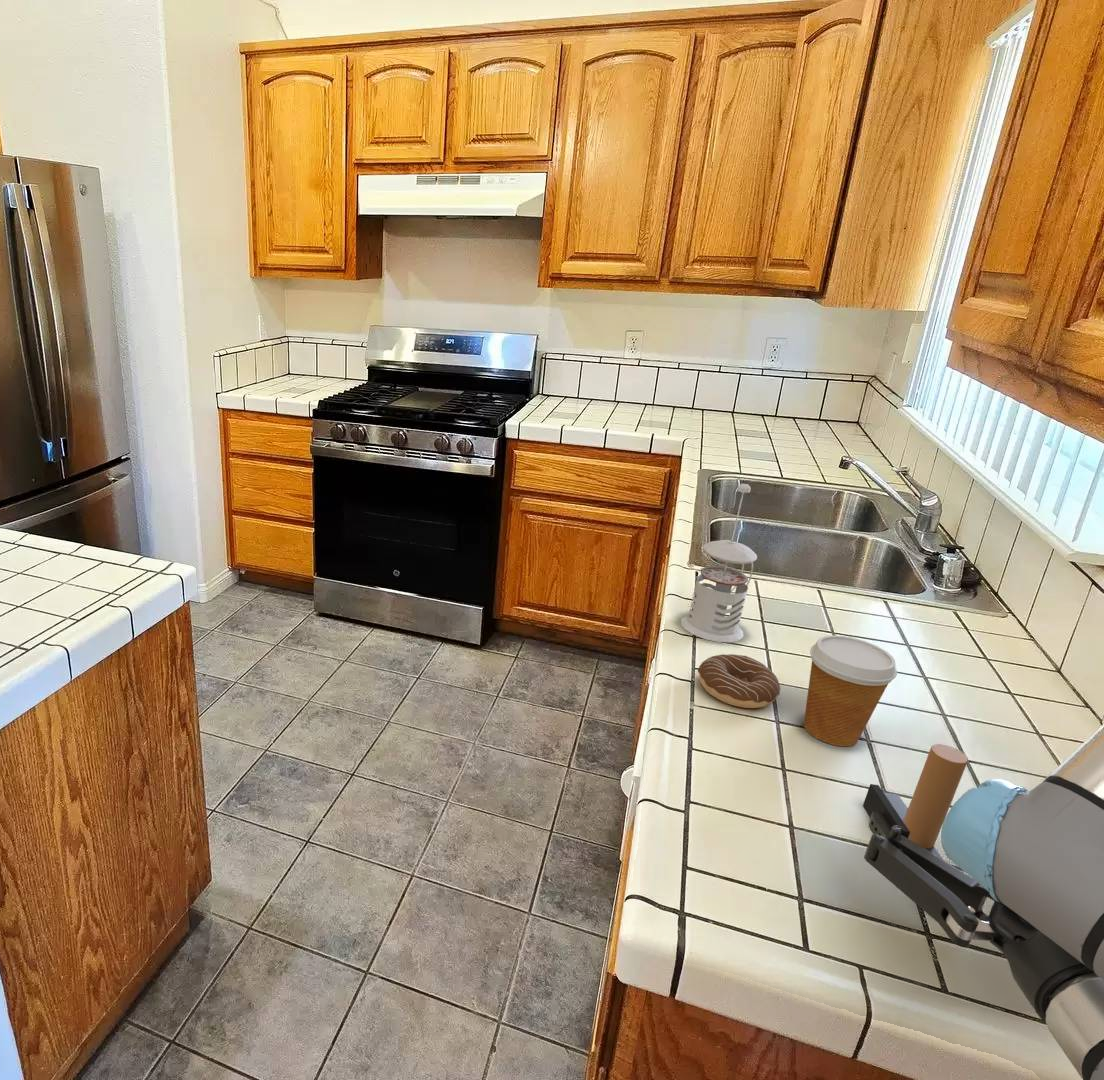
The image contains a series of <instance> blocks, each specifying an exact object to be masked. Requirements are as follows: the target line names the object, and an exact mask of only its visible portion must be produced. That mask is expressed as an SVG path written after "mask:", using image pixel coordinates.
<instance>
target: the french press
mask: <svg viewBox="0 0 1104 1080" xmlns="http://www.w3.org/2000/svg"><path fill="white" fill-rule="evenodd" d="M751 489H752V488H751V486H750V485H749V484H748V483H740V484H739V485H738V486H737V489H736V491H737V492H740V493H741V496H740V500H739V504H738V509H737V513H736V517H735V522H734V527H733V531H732V536H731V539H730V540H729V539H720V540H712V541H709V542H705V544H703V545H702V551H703V552H704V553H705V554H706V555H707V556H708V557H710V558H712V559H715V560H717V561H721V562H723V563H724V562H725V566H720V565H707V566H703V567H702V568H700V574H699V575H698V576H697V577H696V579H695V585H694V589H693V593H692V599H691V603H690V607H689V612H688V615H685V616H684V617H682V618H681V620H680V625H681V626H682V628H683V629H684V630H685V631H687V632H688V633H689V634H691V635H693V636H696V637H698V638H701V639H703V640H706V641H707V640H708V641H711V642H717V643H735V642H739V641H741V640H742V639H743V638H744V631H743V630H742V629H741V627H740V623H741V618H742V615H743V613H742V612H743V611H744V604H745V602H746V597H747V594H748V590H749V584H750V583H751V580H752V576H753V572H754V562H755V561H756V560H758V554H756V553H755V552H754V551H753V549H751V547H749V546H747V545H745V544H743V543H742V542H741V543H740V542H737V541H734V538H735V532H736V529H737V523H738V520H739V515H740V511H741V507H742V503H743V498H744V494H749V493H751ZM728 564H736V565H737V564H738V565H741V570H740V571H739V570H737V569H733V568H729V567H728ZM748 564H751V565H750V566H751V571H750V574H749V578H748V576H747V575H745V574H744V573H743V572H744V569H745V565H748ZM704 580H707V581H709V582H713V583H715V585H714V584H712V583H707V582H702V581H704ZM701 582H702V583H701ZM732 587H733V588H732ZM734 590H735V592H734V593H732V592H733V591H734ZM729 606H731V608H728V607H729ZM726 614H729V615H727V616H726Z"/></svg>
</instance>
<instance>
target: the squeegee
mask: <svg viewBox="0 0 1104 1080" xmlns="http://www.w3.org/2000/svg"><path fill="white" fill-rule="evenodd" d="M968 762H969V758H968V756H967V755H966V754H965V753H964V752H963V751H961V750H959V749H958V748H956V747H953V746H951V745H947V744H942V743H934V744H932V745H931V747H930V749H929V752H928V754H927V757H926V760H925V762H924V765H923V768H922V771H921V773H920V776H919V779H918V781H917V783H916V786H915V789H914V791H913V795H912V797H911V800H910V803H909V805H908V807H907V805H906V804H905V802H904V801H903V799H902V798H901V796H900V795H899V794H898V793H890V792H884V794H885V795H886V797H887V798H888V800H889V801H890V803H891V804H892V806H893V807H894V809H895V810H896V812H897V813H898V815H899V816H900V818H901V819H902V821H903V822H904V824H905V825H906V827H907V828H908V830H909V831H910V835H909V837H908V839H909V840H911V841H913V842H914V843H916V844H918V845H919V846H921V847H922V848H924V849H926V850H927V851H929V852H931V853H932V854H934V855H936V856H937V857H939V858H940V859H942V860H944V859H943V857H942V856H941V854H940V853H939V851H938V850H937V848H936V847H935V844H936V842H937V840H938V837H939V834H940V833H941V830H942V825H943V822H944V820H945V818H946V816H947V814H948V812H949V811H950V808H951V805H952V802H953V801H954V797H955V795H956V792H957V789H958V787H959V786H960V783H961V780H962V777H963V775H964V772H965V770H966V767H967V765H968Z"/></svg>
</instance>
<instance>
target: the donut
mask: <svg viewBox="0 0 1104 1080" xmlns="http://www.w3.org/2000/svg"><path fill="white" fill-rule="evenodd" d="M697 673H698V679H699V682H700V684H701V686H702V687H703V689H704V690H705V691H706V692H707V693H708V694H709V695H710V696H711V697H714V698H715V699H717V700H719V701H721V702H723V703H725V704H728V705H731V706H734V707H739V708H745V709H759V708H764V707H766V706H769V705H770V704H772V703H774V702H775V701H776V699H778V696H780V693H781V685H780V682H779V679H778V677H777V675H776V674H775V673H774V672H773V671H772V670H771V669H770V668H769V667H767V665H765V664H764V663H763V662H762V661H759V660H757V659H755V658H752V657H750V656H747V655H742V654H734V653H733V654H732V653H729V654H725V653H724V654H716V655H713V656H709V657H707V658H706V659H705V660H704V661H702V662H701V664H700V665H699V666H698V669H697Z"/></svg>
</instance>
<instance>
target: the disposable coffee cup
mask: <svg viewBox="0 0 1104 1080" xmlns="http://www.w3.org/2000/svg"><path fill="white" fill-rule="evenodd" d="M809 654H810V658H811V666H810V674H809V683H808V689H807V697H806V703H805V704H806V705H805V712H804V720H803V727H804V729H805V730H806V732H807V733H809V735H811V736H812V737H813V738H816V739H817V740H819V741H821V742H824V743H826V744H829V745H831V746H832V745H833V746H837V747H852V746H855V745H856V744H857V743H858V741H859V740H860V738H861V736H862V734H863V732H864V730H865V728H866V727H867V725H868V722H869V721H870V719H871V717H872V715H873V713H874V711H875V710H876V708H877V706H878V704H879V702H880V700H881V698H882V696H883V694H884V692H885V690H886V689H887V687H888V686H889V684H890V683H892V681H893V680H894V679H896V677H897V676H898V669H896V659H895V658H894V657H893V655H892V654H891V653H889V652H888V651H886V650H885V649H884V648H882V647H880V646H878V645H877V644H873V643H871V642H869V641H866V640H864V639H859V638H855V637H852V636H846V635H834V634H833V635H824V636H822V637H820V638H819V639H818V640H817V641H816V642H815V643H814V644H813V645H812V646H811V647H810V649H809Z"/></svg>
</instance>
